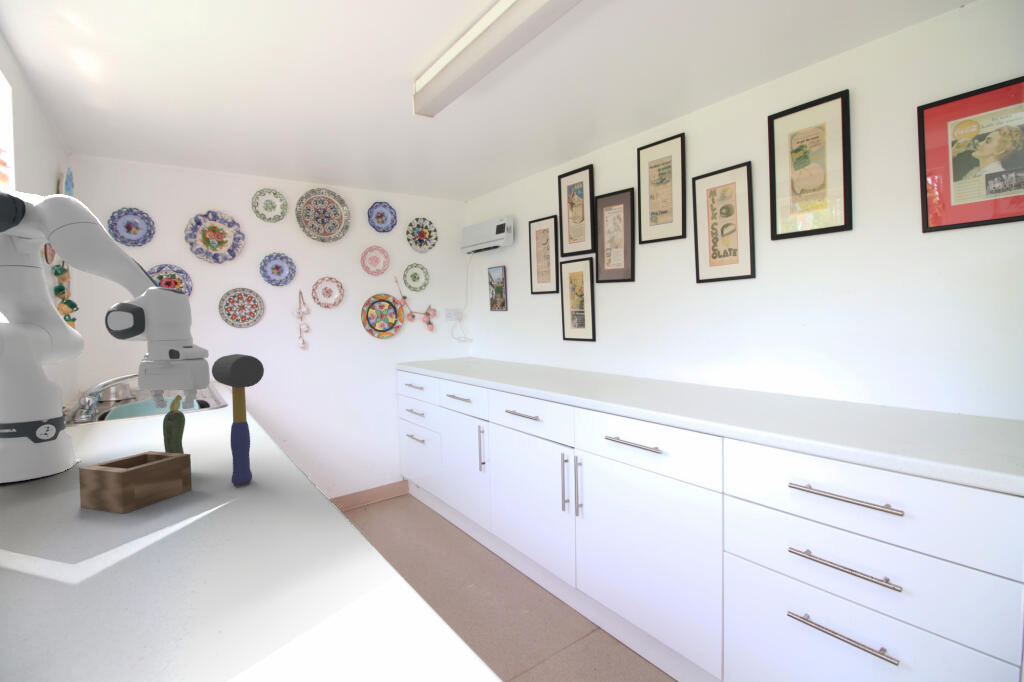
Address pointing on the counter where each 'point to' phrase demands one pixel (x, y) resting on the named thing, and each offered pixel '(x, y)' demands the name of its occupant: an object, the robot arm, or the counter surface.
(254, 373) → the rubber mallet
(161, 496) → the socket block
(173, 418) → the vegetable
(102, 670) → the counter surface
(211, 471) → the counter surface
